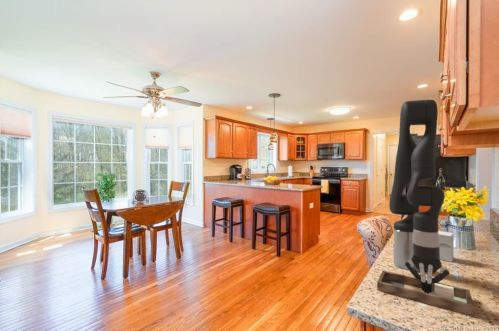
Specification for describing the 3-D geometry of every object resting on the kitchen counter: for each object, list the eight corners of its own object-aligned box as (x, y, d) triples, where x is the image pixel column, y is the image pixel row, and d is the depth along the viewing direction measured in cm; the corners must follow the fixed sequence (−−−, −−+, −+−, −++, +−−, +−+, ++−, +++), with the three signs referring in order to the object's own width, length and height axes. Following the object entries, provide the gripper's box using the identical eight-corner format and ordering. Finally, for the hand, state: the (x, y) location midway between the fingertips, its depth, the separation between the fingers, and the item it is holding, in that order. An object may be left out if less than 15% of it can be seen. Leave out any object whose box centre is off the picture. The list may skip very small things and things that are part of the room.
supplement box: (432, 258, 119) (432, 232, 119) (435, 254, 124) (434, 229, 124) (452, 262, 113) (451, 235, 113) (454, 258, 118) (453, 232, 118)
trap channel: (377, 292, 88) (377, 282, 88) (383, 280, 97) (382, 270, 97) (474, 319, 72) (473, 306, 72) (469, 301, 82) (469, 289, 82)
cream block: (434, 300, 81) (434, 288, 81) (435, 294, 84) (434, 282, 84) (454, 305, 77) (453, 293, 77) (453, 299, 81) (453, 287, 81)
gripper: (450, 243, 83) (451, 294, 83) (404, 237, 91) (405, 282, 91) (450, 249, 77) (451, 304, 77) (402, 242, 85) (402, 291, 85)
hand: (426, 292), depth 84 cm, fingers closed
